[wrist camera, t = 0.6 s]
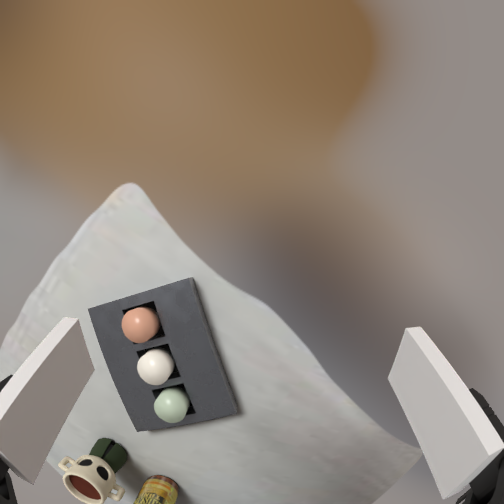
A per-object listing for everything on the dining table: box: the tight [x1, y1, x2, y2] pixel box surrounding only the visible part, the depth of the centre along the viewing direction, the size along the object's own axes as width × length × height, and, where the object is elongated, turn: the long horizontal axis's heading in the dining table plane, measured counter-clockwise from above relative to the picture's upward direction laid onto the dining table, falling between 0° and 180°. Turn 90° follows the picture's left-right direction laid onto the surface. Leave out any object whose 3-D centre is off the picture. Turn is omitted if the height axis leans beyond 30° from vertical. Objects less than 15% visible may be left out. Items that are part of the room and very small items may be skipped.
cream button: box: [137, 347, 175, 385], centre depth 36 cm, size 4×4×4 cm
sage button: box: [154, 386, 190, 423], centre depth 36 cm, size 4×4×4 cm
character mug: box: [58, 438, 127, 504], centre depth 32 cm, size 11×7×13 cm, turn 67°
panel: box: [88, 277, 237, 432], centre depth 38 cm, size 20×16×3 cm
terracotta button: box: [122, 306, 161, 343], centre depth 36 cm, size 4×4×4 cm
